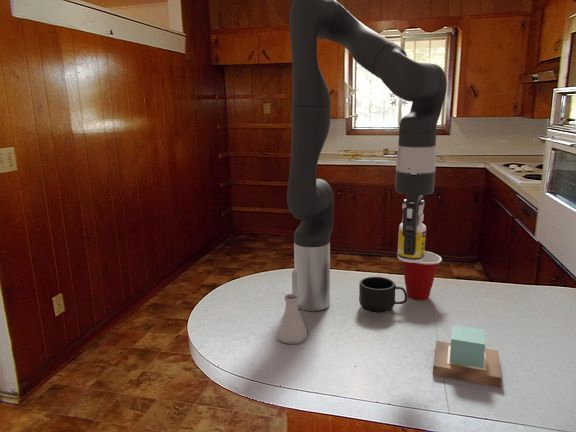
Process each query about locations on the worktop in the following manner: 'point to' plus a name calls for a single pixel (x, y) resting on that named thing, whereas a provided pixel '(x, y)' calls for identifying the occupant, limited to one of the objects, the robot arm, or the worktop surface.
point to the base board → (467, 367)
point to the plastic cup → (421, 276)
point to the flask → (291, 323)
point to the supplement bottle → (419, 243)
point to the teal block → (467, 346)
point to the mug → (378, 294)
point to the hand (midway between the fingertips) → (410, 249)
